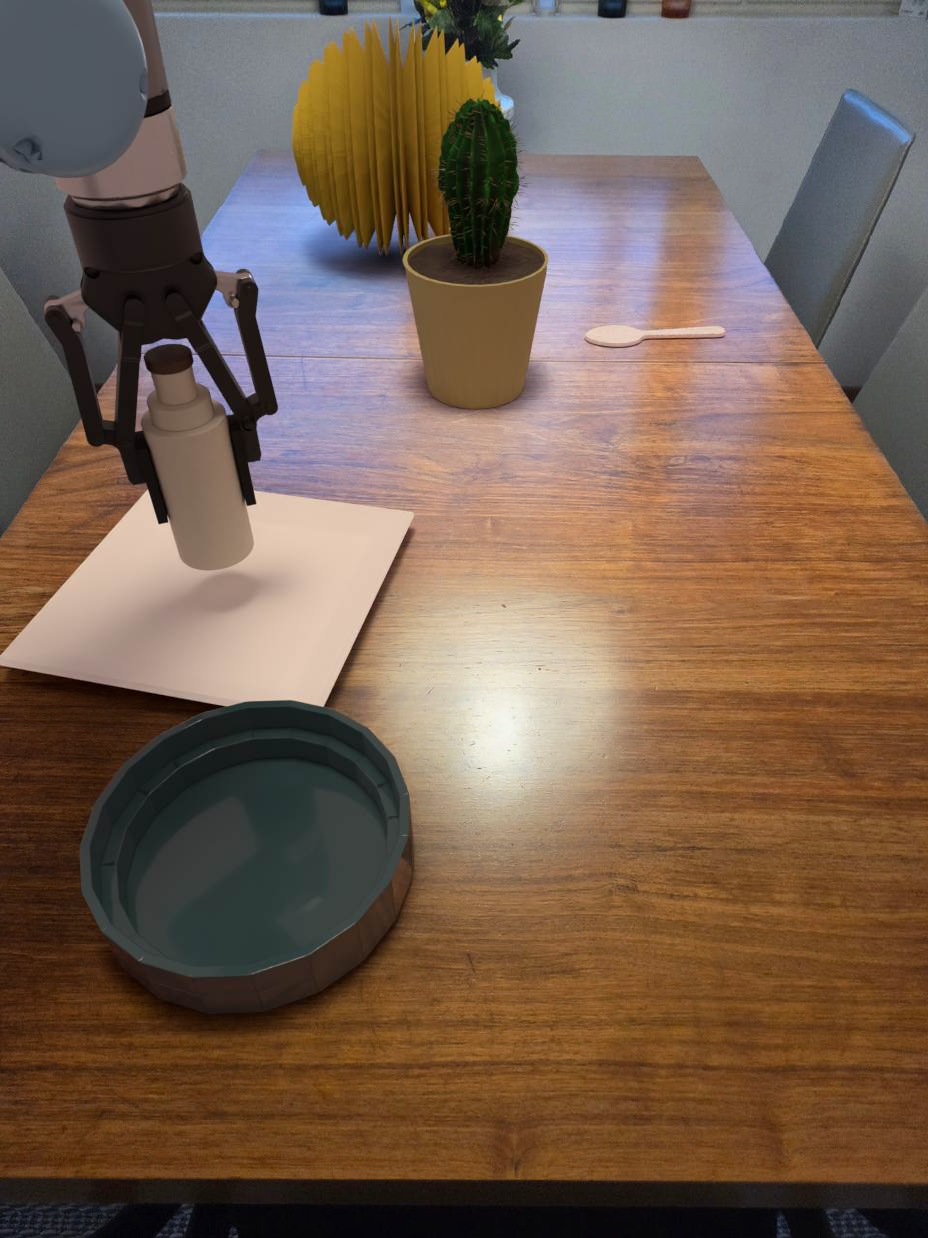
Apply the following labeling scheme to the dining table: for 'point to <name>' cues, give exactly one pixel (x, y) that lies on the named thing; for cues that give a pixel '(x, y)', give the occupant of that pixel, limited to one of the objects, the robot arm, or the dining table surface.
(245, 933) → the bowl
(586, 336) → the spoon
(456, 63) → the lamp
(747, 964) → the dining table surface
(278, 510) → the beige square board
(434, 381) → the potted cactus
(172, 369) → the bottle
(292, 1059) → the dining table surface
